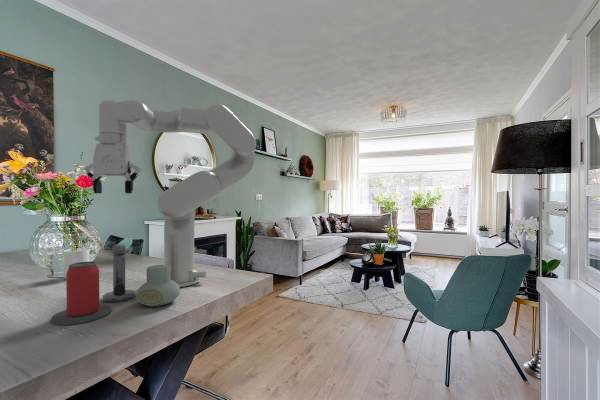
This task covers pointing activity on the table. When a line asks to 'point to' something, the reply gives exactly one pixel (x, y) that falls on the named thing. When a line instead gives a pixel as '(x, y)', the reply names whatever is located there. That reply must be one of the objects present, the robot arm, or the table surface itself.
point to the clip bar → (122, 246)
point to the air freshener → (158, 287)
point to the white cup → (75, 257)
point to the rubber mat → (65, 319)
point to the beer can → (82, 289)
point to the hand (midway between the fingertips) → (113, 193)
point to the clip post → (118, 282)
